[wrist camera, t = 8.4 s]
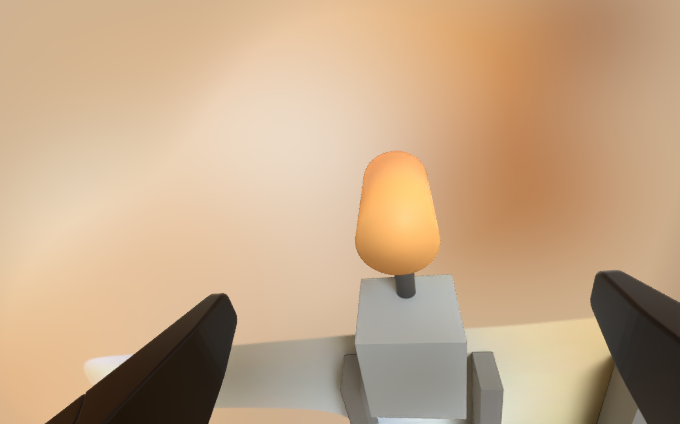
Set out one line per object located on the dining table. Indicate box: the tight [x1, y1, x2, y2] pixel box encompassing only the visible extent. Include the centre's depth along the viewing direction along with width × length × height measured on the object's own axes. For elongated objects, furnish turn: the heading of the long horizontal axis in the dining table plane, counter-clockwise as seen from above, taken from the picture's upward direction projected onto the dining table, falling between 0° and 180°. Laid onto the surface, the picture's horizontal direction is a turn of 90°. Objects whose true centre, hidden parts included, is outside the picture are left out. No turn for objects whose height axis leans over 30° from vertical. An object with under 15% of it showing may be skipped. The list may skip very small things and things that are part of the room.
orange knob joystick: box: [355, 151, 467, 419], centre depth 18 cm, size 14×5×5 cm, turn 10°
